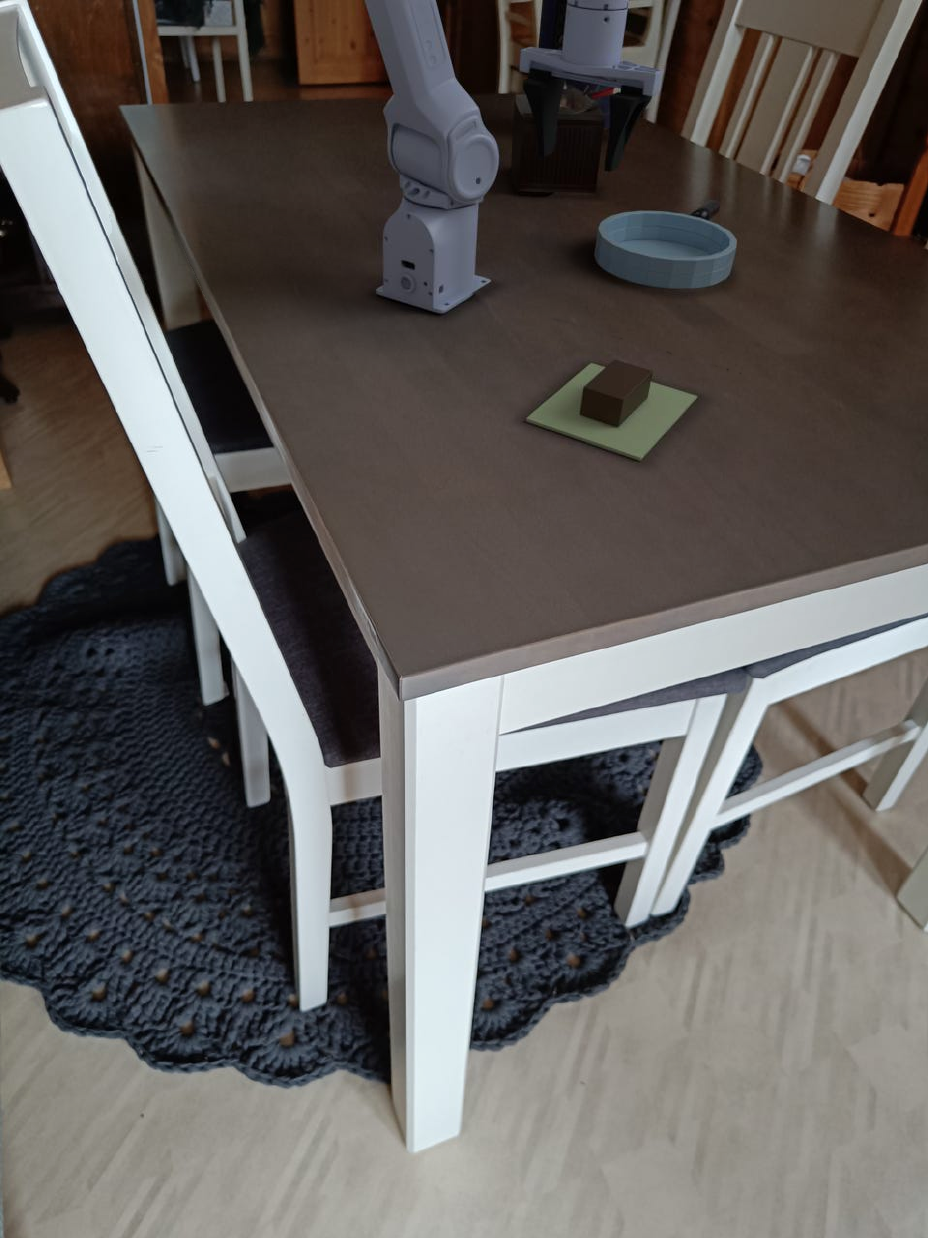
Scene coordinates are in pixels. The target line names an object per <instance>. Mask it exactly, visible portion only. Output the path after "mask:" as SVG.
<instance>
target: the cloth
mask: <svg viewBox="0 0 928 1238" xmlns="http://www.w3.org/2000/svg"><path fill="white" fill-rule="evenodd" d="M606 367H607V366H602V365H599V364H596V363H593V362H591V363H589V364H588V365H586V367H585V368H583V369H582V370H581V371H579V373H578V374H577V373H576V375H575V376H574V377H572V378H571V379H570V380H569V381H568V382H567V383H565V384H564V385H563V386H562V387H561V388H560V389H559V390H558V391H556V392H555V393H553V395H552V396H551V397H549V398H547V400H546V401H545V402H544V403H542V404H541V405H540V406H538V407H537V408H536V409H535V410H534V411H533V412H532V413H530V414H529V415H528V416H527V417H526V418H525V422H526V423H529V424H532V425H535V426H538V427H540V428H543V429H547V430H549V431H553V432H555V433H558V434H561V435H564V436H567V437H570V438H573V439H576V440H579V441H581V442H585V443H587V444H589V445H592V446H595V447H599V448H600V449H604V450H606V451H607V450H608V451H610V452H612V453H615V454H619V455H621V456H625V457H628V458H630V459H633V460H636V461H639V462H641V461H642V460H643V458H645V456H647V454H648V453H649V452H650V451H651V450H652V449H653V447H655V446H656V444H657V443H658V442H659V441H660V440H661V439H662V438H663V437H664V435H666V433H667V432H668V431H669V430H670V429H671V428H672V427H673V425H675V424H676V422H677V421H678V420H679V419H680V418H681V417H682V416H683V415H684V413H686V411H687V410H688V409H689V408H690V407H691V406H692V405H693V404H694V403H695V402H696V400H697V398H698V396H697V395H695V394H692V393H689V392H687V391H684V390H683V391H682V390H680V389H676V388H673V387H669V386H666V385H663V384H660V383H658V382H654V381H651V384H650V389H649V394H648V398H647V399H646V400H645V401H644V402H643V403H642V404H641V405H640V406H639V407H638V408H637V409H636V410H635V411H634V412H633V413H632V414H631V415H630V416H629V417H628V418H627V419H626V420H625V421H624V422H623V423H622V424H621V425H620V426H619V427H615V426H612V425H609V424H606V423H603V422H600V421H597V420H594V419H591V418H588V417H585V416H582V415H580V414H579V413H580V406H581V400H582V393H583V387H584V386H585V385H586V384H587V383H589V382H590V381H591V380H592V379H593V378H594V377H595V376H596V375H598V374H599V373H600V372H601V371H602V370H603V369H604V368H606Z"/></svg>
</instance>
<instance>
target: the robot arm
mask: <svg viewBox="0 0 928 1238" xmlns="http://www.w3.org/2000/svg"><path fill="white" fill-rule="evenodd" d="M364 2H365V3H364V4H365V6H366V9H367V12H368V16H369V19H370V22H371V26H372V29H373V31H374V36H375V38H376V41H377V44H378V48H379V51H380V54H381V57H382V61H383V63H384V66H385V71H386V73H387V76H388V79H389V82H390V87H391V89H392V92H393V94H392V96H391V97H390V98H389V100H388V101H387V103H386V104H385V106H384V107H383V110H382V113H383V117H384V119H385V123H386V126H387V127H386V128H387V140H386V141H387V142H386V144H387V145H386V150H387V151H386V152H387V157H388V160H389V163H390V165H391V167H392V169H393V170H394V171H395V173H396V174H398V175H399V188H401V189H402V196H401V197H402V199H401V202H400V205H399V207H398V209H397V210H396V211H395V212H394V213H392V215H390V216H389V217H388V219H387V220H386V222H385V223H384V227H383V230H382V284H381V286H379V287H377V288H376V289H375V294H376V295H379V296H381V297H385V298H388V299H391V300H395V301H397V302H401V303H404V304H407V305H411V306H413V307H417V308H420V309H423V310H426V311H430V312H433V313H436V314H439V315H440V314H441V315H442V314H446V313H447V312H449V311H450V310H452V309H454V308H455V307H456V306H459V305H460V304H461V303H463V302H465V301H466V300H468V299H470V298H471V297H474V295H476V293H475V292H477V291H478V290H479V289H481V288H483V287H484V286H487V284H489V283H491V281H492V280H491V279H490V278H488V277H483V276H480V275H476V258H477V257H476V255H477V239H478V222H479V221H478V220H479V203H483V202H484V196H485V195H486V194H487V193H488V192H489V190H490V189H491V187H492V185H494V182H495V179H496V177H497V174H498V170H499V163H500V155H499V146H498V144H497V141H496V138H494V135H492V133H491V132H490V130H488V129H487V127H486V126H485V124H484V121H483V119H482V115H481V111H480V107H479V106H478V105H477V103H476V102H475V101H474V99H473V98H472V97H471V96H470V94H469V93H468V92H467V91H466V90H465V89H464V88H463V86H462V84H460V82H459V81H458V79H457V78H456V75H455V71H454V67H453V64H452V59H451V55H450V51H449V48H448V44H447V39H446V35H445V31H444V28H443V24H442V20H441V16H440V13H439V12H440V11H439V7H438V4H437V1H436V0H364ZM629 2H630V0H567V9H566V19H565V28H564V38H563V47H562V51H561V50H551V49H542V48H538V47H533V46H529V47H525V48H522V49H520V57H519V72H520V73H526V74H528V75H527V78H525V79H523V80H522V90H523V92H524V94H526V97H527V99H528V102H529V105H530V108H531V111H532V115H533V119H534V124H535V129H536V135H537V143H538V153H539V156H541V157H545V156H547V155H550V154H552V153H553V150H554V145H555V139H556V128H557V118H558V112H559V106H560V101H561V97H562V93H563V89H564V85H565V82H566V78H567V79H572V80H577V81H583V82H588V83H593V84H599V85H604V86H609V87H615V88H614V89H620V91H617V92H615V93H614V94H612V95H610V98H609V104H610V127H609V128H608V138H607V139H608V140H607V145H606V151H605V157H604V171H605V172H609V173H612V172H614V171H615V170H617V169H619V168H620V164H621V161H622V158H623V155H624V153H625V150H626V147H627V144H628V142H629V140H630V138H631V135H632V133H633V131H634V129H635V127H636V126H637V124H638V122H639V120H640V118H641V117H642V115H643V113H644V112H645V110H646V108H647V107H648V106H649V104H650V103H651V101H652V99H653V96H656V95H658V94H660V93H661V89H662V84H663V83H662V82H663V77H664V69H660V68H654V67H650V66H646V65H643V64H639V63H636V62H631V61H628V60H625V59H622V53H623V51H622V50H623V45H624V38H625V37H624V36H625V30H626V25H627V16H628V8H629ZM595 76H598V77H595ZM601 77H604V78H601Z"/></svg>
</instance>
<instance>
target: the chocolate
mask: <svg viewBox="0 0 928 1238" xmlns="http://www.w3.org/2000/svg"><path fill="white" fill-rule="evenodd" d="M605 367H606V368H604V369H603V370H602V371H601V372H600V373H599V374H598V375H596V376H595V377H594V378H593V379H592V380H591V381H590V382H589V383H587V384H586V385H585V386H584V387H583V393H582V400H581V406H580V413H579V414H580V415H582V416H585V417H588V418H591V419H594V420H597V421H600V422H603V423H606V424H609V425H612V426H615V427H619V426H620V425H621V424H622V423H623V422H624V421H625V420H626V419H627V418H628V417H629V416H630V415H631V414H632V413H633V412H634V411H635V410H636V409H637V408H638V407H639V406H640V405H641V404H642V403H643V402H644V401H645V400H646V399H647V398H648V394H649V389H650V384H651V382H652V379H653V373H654V371H653V370H652V369H648V368H644V367H641V366H637V365H635V364H632V363H628V362H624V361H621V360H618V359H613V360H612V361H611V362H610V363H608V364H607V366H605Z"/></svg>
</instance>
